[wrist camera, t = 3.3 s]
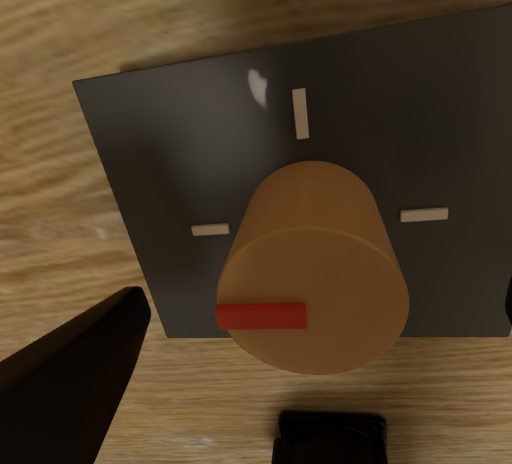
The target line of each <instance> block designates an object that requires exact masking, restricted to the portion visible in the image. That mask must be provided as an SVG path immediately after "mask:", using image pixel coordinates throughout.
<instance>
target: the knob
mask: <svg viewBox="0 0 512 464" xmlns="http://www.w3.org/2000/svg"><path fill="white" fill-rule="evenodd" d="M408 312H409V294H408V289H407V285H406V282H405V280H404V277H403V274H402V272H401V269H400V266H399V264H398V261H397V258H396V256H395V253H394V250H393V248H392V245H391V242H390V240H389V237H388V234H387V232H386V229H385V226H384V224H383V221H382V218H381V215H380V213H379V210H378V207H377V205H376V202H375V200H374V197H373V195H372V193H371V191H370V190H369V188H368V187H367V186H366V184H365V183H364V182H363V181H362V180H361V179H360V178H359V177H358V176H357V175H355V174H354V173H352V172H351V171H349V170H347V169H345V168H343V167H342V166H339V165H336V164H333V163H329V162H324V161H302V162H296V163H293V164H290V165H287V166H284V167H282V168H280V169H278V170H276V171H275V172H273V173H272V174H270V175H269V176H268V177H267V178H265V179H264V180H263V181H262V183H261V184H260V185H259V186H258V187H257V189H256V190H255V192H254V194H253V196H252V198H251V200H250V203H249V205H248V208H247V210H246V213H245V215H244V218H243V220H242V223H241V225H240V227H239V230H238V232H237V235H236V237H235V240H234V242H233V245H232V247H231V250H230V252H229V255H228V257H227V260H226V262H225V265H224V267H223V270H222V272H221V275H220V278H219V281H218V286H217V307H216V310H215V316H216V320H217V324H218V327H219V330H227V331H228V332H229V334H230V335H231V337H232V338H233V339H234V340H235V341H236V342H237V343H238V345H240V346H241V347H242V348H243V349H244V350H245V351H247V352H248V353H249V354H251V355H252V356H254V357H255V358H257V359H259V360H261V361H262V362H264V363H267V364H269V365H271V366H274V367H276V368H279V369H282V370H286V371H290V372H295V373H302V374H313V375H321V374H334V373H340V372H345V371H349V370H352V369H356V368H359V367H361V366H363V365H366V364H368V363H370V362H372V361H373V360H375V359H377V358H378V357H380V356H381V355H382V354H384V353H385V352H386V351H387V350H388V349H389V348H390V347H391V346H392V345H393V344H394V343H395V342H396V340H397V339H398V338H399V336H400V334H401V333H402V331H403V329H404V326H405V324H406V321H407V318H408Z"/></svg>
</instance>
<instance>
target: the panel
mask: <svg viewBox="0 0 512 464" xmlns="http://www.w3.org/2000/svg"><path fill="white" fill-rule="evenodd" d="M72 84H73V86H74V89H75V92H76V95H77V97H78V100H79V103H80V105H81V108H82V111H83V113H84V116H85V119H86V121H87V124H88V127H89V129H90V132H91V135H92V137H93V140H94V143H95V145H96V148H97V151H98V153H99V156H100V159H101V162H102V164H103V167H104V170H105V172H106V175H107V178H108V180H109V183H110V186H111V188H112V191H113V194H114V196H115V199H116V202H117V204H118V207H119V210H120V212H121V215H122V218H123V221H124V223H125V226H126V229H127V231H128V234H129V237H130V239H131V242H132V245H133V247H134V250H135V253H136V255H137V258H138V261H139V263H140V266H141V269H142V271H143V274H144V277H145V280H146V282H147V285H148V288H149V290H150V293H151V296H152V298H153V301H154V304H155V306H156V309H157V312H158V314H159V317H160V320H161V322H162V325H163V328H164V330H165V333H166V336H167V338H232V337H231V335H230V334H229V332H228V331H227V330H219V327H218V324H217V320H216V316H215V310H216V307H217V286H218V281H219V278H220V275H221V272H222V270H223V267H224V265H225V262H226V260H227V257H228V255H229V252H230V250H231V247H232V245H233V242H234V240H235V237H236V235H237V232H238V230H239V227H240V225H241V223H242V220H243V218H244V215H245V213H246V210H247V208H248V205H249V203H250V200H251V198H252V196H253V194H254V192H255V190H256V189H257V187H258V186H259V185H260V184H261V183H262V181H263V180H264V179H265V178H267V177H268V176H269V175H270V174H272V173H273V172H275V171H276V170H278V169H280V168H282V167H284V166H287V165H290V164H293V163H296V162H302V161H324V162H329V163H333V164H336V165H339V166H342V167H343V168H345V169H347V170H349V171H351V172H352V173H354V174H355V175H357V176H358V177H359V178H360V179H361V180H362V181H363V182H364V183H365V184H366V186H367V187H368V188H369V190H370V191H371V193H372V195H373V197H374V200H375V202H376V205H377V207H378V210H379V213H380V215H381V218H382V221H383V224H384V226H385V229H386V232H387V234H388V237H389V240H390V242H391V245H392V248H393V250H394V253H395V256H396V258H397V261H398V264H399V266H400V269H401V272H402V274H403V277H404V280H405V282H406V285H407V289H408V294H409V312H408V318H407V321H406V324H405V326H404V329H403V331H402V333H401V334H400V336H399V337H509V334H510V330H511V326H512V325H511V323H510V321H509V318H508V316H507V314H506V311H505V298H506V294H507V290H508V285H509V281H510V278H511V276H512V3H510V4H504V5H499V6H493V7H487V8H482V9H476V10H470V11H465V12H459V13H453V14H448V15H442V16H436V17H431V18H425V19H420V20H414V21H408V22H403V23H397V24H391V25H386V26H380V27H374V28H369V29H363V30H357V31H352V32H346V33H341V34H335V35H329V36H324V37H318V38H312V39H307V40H301V41H295V42H290V43H284V44H278V45H273V46H267V47H262V48H256V49H250V50H245V51H239V52H233V53H228V54H222V55H216V56H211V57H205V58H199V59H194V60H188V61H182V62H177V63H171V64H166V65H160V66H154V67H149V68H143V69H137V70H132V71H126V72H120V73H115V74H109V75H103V76H98V77H92V78H87V79H81V80H75V81H73V82H72Z"/></svg>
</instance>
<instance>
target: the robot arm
mask: <svg viewBox="0 0 512 464" xmlns="http://www.w3.org/2000/svg"><path fill="white" fill-rule="evenodd" d="M505 311H506V314H507V316H508V318H509V321H510V323H511V325H512V276H511V278H510V281H509V285H508V290H507V294H506V298H505ZM150 318H151V310H150V307H149V304H148V301H147V299H146V296H145V293H144V291H143V289H142V288H141V287H139V286H134V287H125V288H123V289H121V290H120V291H118V292H116V293H115V294H113V295H111V296H110V297H108V298H106V299H105V300H103V301H101V302H100V303H98V304H96V305H95V306H93V307H91V308H90V309H88V310H86V311H85V312H83V313H81V314H80V315H78V316H76V317H74V318H73V319H71V320H69V321H68V322H66V323H64V324H63V325H61V326H59V327H58V328H56V329H54V330H53V331H51V332H49V333H48V334H46V335H44V336H43V337H41V338H39V339H38V340H36V341H34V342H33V343H31V344H29V345H28V346H26V347H24V348H23V349H21V350H19V351H18V352H16V353H14V354H13V355H11V356H9V357H7V358H6V359H4V360H2V361H1V362H0V464H94V462H95V459H96V457H97V455H98V452H99V450H100V448H101V445H102V443H103V441H104V438H105V436H106V434H107V431H108V429H109V427H110V425H111V422H112V420H113V418H114V415H115V413H116V411H117V408H118V406H119V404H120V401H121V399H122V397H123V394H124V392H125V390H126V387H127V385H128V383H129V380H130V378H131V376H132V373H133V371H134V368H135V365H136V362H137V360H138V356H139V353H140V350H141V347H142V344H143V341H144V337H145V334H146V331H147V328H148V325H149V322H150ZM278 423H279V428H280V433H281V438H276V439H275V440H274V444H273V454H272V464H388V458H387V452H386V451H387V424H386V420H385V419H384V418H383V417H379V416H361V415H337V414H314V413H290V412H284V413H281V414H280V415H279V422H278Z"/></svg>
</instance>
